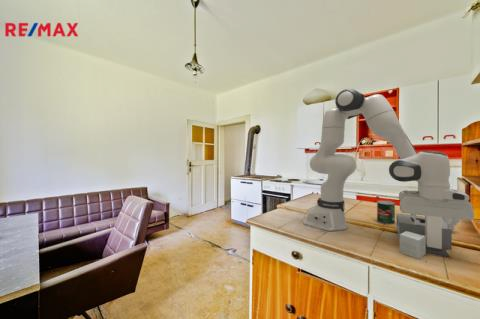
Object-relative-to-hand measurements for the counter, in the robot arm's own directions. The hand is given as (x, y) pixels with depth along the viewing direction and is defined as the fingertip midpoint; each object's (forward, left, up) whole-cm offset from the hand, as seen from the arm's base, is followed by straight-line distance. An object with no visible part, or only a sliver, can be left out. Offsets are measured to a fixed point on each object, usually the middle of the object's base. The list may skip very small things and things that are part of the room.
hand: (433, 227), depth 75 cm
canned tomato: (-14, +28, -10) cm, 33 cm away
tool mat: (0, 0, -10) cm, 10 cm away
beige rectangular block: (0, 0, -9) cm, 9 cm away
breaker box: (-2, +12, -10) cm, 15 cm away
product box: (-7, -6, -10) cm, 14 cm away
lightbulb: (+9, +27, -10) cm, 30 cm away
